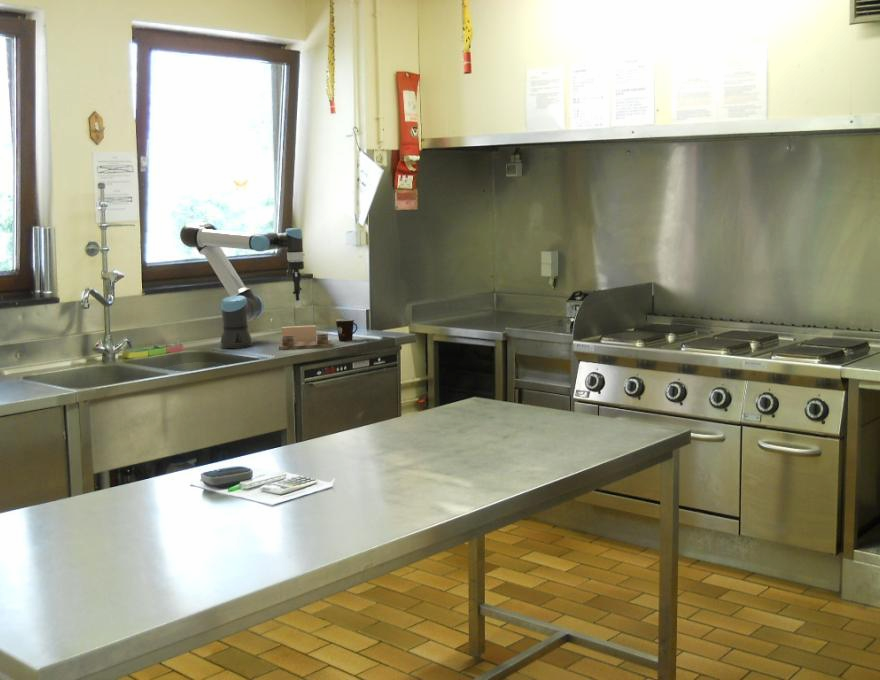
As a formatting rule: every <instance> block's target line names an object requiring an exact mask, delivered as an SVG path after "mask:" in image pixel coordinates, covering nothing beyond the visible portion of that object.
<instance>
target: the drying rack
mask: <svg viewBox="0 0 880 680" xmlns="http://www.w3.org/2000/svg"><path fill="white" fill-rule="evenodd" d="M328 335H329V334H328V333H318V334H317V333H316V337H317V341H308V342H294V339H293V336H282V335H281V336H282V337H281V338H282V339H281V342H280V343H279V346H278V350H279V351H289V349H291V350H305V349H307V350H309V349H310V348H311V349H324V348H325V349H326V347H330V348H333V344H332V340H329V336H328Z"/></svg>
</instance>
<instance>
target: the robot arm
mask: <svg viewBox="0 0 880 680" xmlns="http://www.w3.org/2000/svg"><path fill="white" fill-rule="evenodd" d="M179 237H180V240H181V242H182V244H184V246H186V247H188V248H195V249H196V250H197V251H198V253H199V254H200V255H202V256H204V257H205V258H206V259H207V262H208V263H209V264H210V266H211V268H212V269H213V272H214V273H215V274H216V276H217V277H218V280H219V281H220V282H221V284H222V285H223V287H224V289H225V290H226V292H227V294H228V295H229V296H227V297H224V298H222V300H221V307H220V308H221V317H222V320H221V321H222V334H221V338H220V342H219V344H220V345H219V346H220V349H226V348H236V349H245V347H246V348H250V347H252V346H253V345H254V343H253V341H254V340H253V338H252V336H251V333H250V331H249V321H253V320H256V319H258V318H259V317H261V315H262V314H263V312H264V306H265V305H264V301H263V300H262V298H261V297H260V296H259V295H256V294H254V292H253V291H252V289H251V288H250V287H246V286H245V283H244V282H243V281H242V279H241V277H240V276H239V275H238V272H237V271H236V269H235V268H234V267H233V264H232V263H231V261H230V260H229V258H228V257H227V255H226V254H225V252H224V250H223V249H222V248H228V249H241V250H250V251H255V252H266V251H272V250H280V249H282V250H283V249H284V250H285V249H286V257H287V258H286V260H287V261H288V262H287V270H289V271H293V272H292V273H291V276H292V277H291V278H292V282H293V287H294V290H293V291H292V295H293V297H294V308H297V309H298V308H302V296H301V291H302V287H301V276H302V275H301V272H300V270H304V268H305V262H304V256H305V253H304V248H303V231H302V228H298V227H293V228H291V227H290V228H289V227H288V228H286V229H285V232H267V233H263V234H262V233H259V234H258V233H250V232H239V231H238V232H237V231H225V230H219V229H218V227H216V225H215V224H213V223H211V222H208V221H199V222H189V223H187V224H185V225H183V227H181V230H180V233H179Z"/></svg>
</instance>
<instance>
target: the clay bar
mask: <svg viewBox="0 0 880 680" xmlns="http://www.w3.org/2000/svg"><path fill="white" fill-rule="evenodd" d="M281 333H282V335H281V336H293V339H294V342H308V341H317V325H316V324H313V325H295V326H282V327H281Z"/></svg>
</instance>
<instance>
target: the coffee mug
mask: <svg viewBox="0 0 880 680" xmlns="http://www.w3.org/2000/svg"><path fill="white" fill-rule="evenodd" d="M335 323H336V330H337V336H338V341H339V342H351V341H353V336H354V334H355V333H356V332H357V330H358V325H357V323H355V318H354V319H353V318H338V319H336V320H335ZM354 326H355V330H354Z"/></svg>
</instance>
